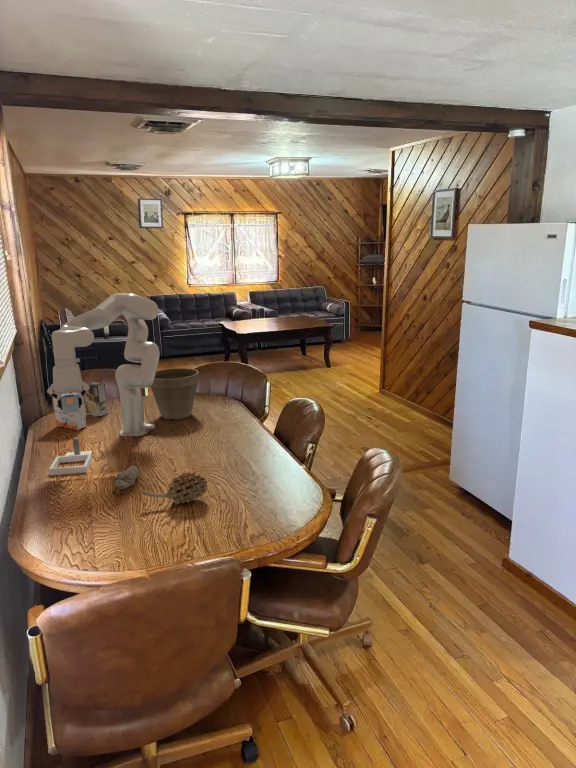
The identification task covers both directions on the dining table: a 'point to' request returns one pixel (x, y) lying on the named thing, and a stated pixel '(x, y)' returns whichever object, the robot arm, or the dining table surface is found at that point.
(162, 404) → the plant pot
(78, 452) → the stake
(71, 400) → the collar
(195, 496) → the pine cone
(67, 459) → the tray
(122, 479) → the decorative bird
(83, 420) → the cracker box
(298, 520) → the dining table surface
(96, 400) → the coffee box
